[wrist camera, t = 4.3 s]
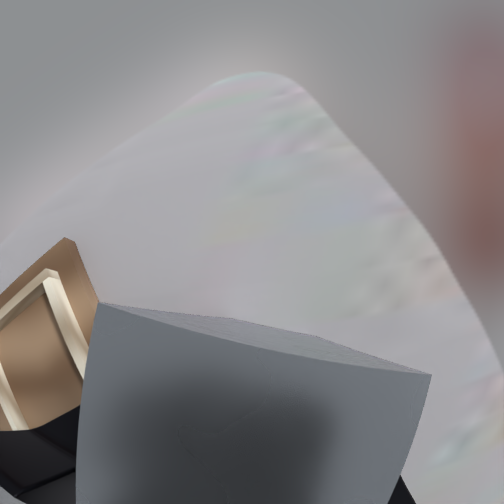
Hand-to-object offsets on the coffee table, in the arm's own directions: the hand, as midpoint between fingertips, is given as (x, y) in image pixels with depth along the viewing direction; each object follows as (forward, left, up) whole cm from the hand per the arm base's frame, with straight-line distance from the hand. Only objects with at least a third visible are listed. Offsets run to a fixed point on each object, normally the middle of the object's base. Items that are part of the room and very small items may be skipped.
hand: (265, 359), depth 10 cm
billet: (-1, -1, -7) cm, 7 cm away
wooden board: (-17, +11, -7) cm, 21 cm away
